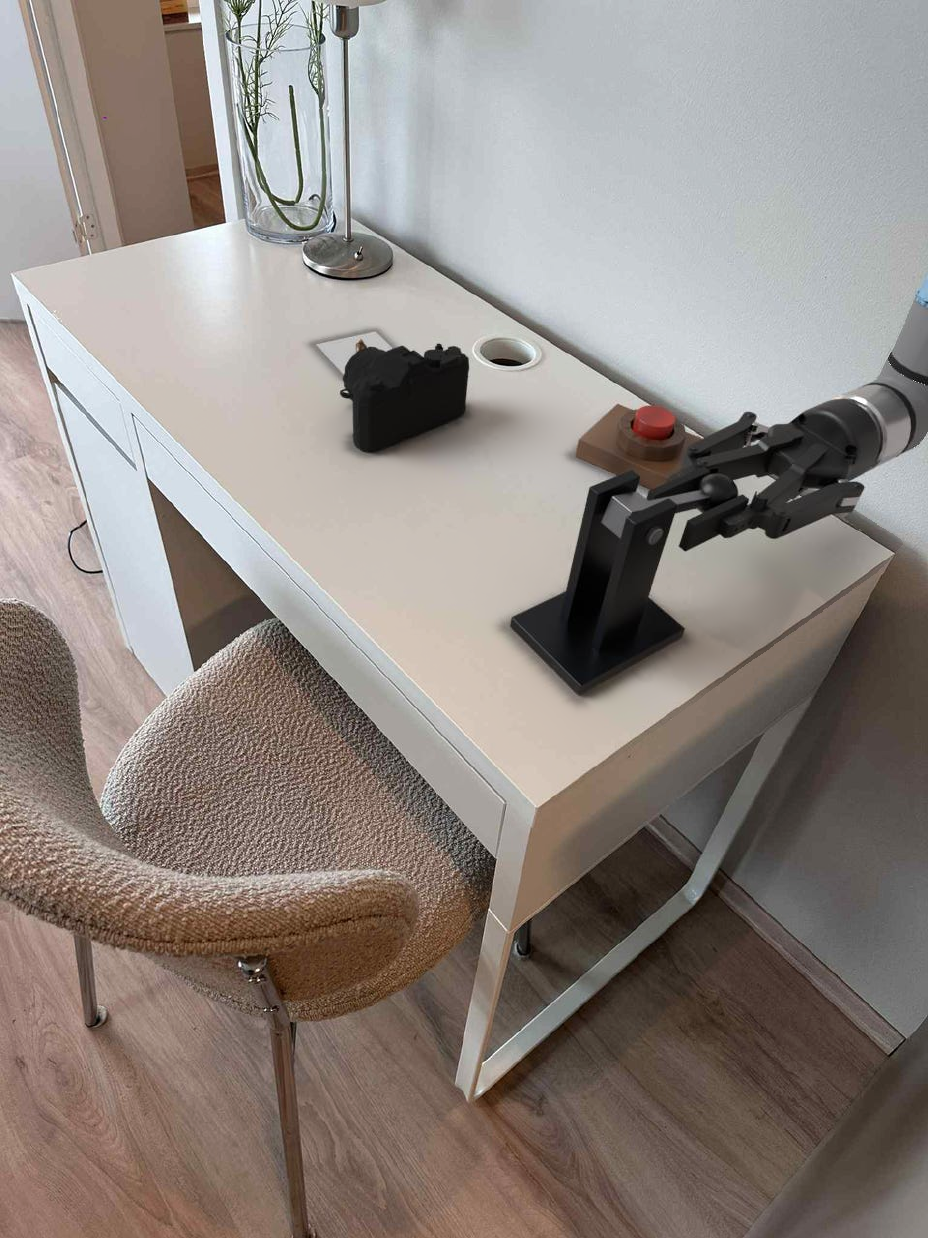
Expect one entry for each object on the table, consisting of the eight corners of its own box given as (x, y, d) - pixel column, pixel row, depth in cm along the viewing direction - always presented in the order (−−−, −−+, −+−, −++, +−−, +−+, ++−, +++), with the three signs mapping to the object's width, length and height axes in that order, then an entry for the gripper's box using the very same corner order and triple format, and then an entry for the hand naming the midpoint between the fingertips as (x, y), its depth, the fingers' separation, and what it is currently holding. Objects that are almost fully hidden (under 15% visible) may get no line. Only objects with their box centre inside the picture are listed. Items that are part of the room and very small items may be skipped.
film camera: (422, 376, 103) (426, 302, 96) (476, 416, 98) (483, 341, 91) (310, 416, 95) (306, 339, 89) (363, 461, 90) (362, 383, 84)
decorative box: (375, 331, 109) (375, 317, 108) (407, 362, 105) (407, 347, 103) (315, 344, 106) (315, 329, 104) (345, 377, 101) (345, 362, 100)
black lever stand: (611, 576, 81) (648, 441, 71) (682, 638, 76) (733, 503, 66) (509, 626, 76) (532, 488, 65) (578, 696, 71) (615, 559, 60)
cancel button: (677, 429, 93) (681, 414, 91) (661, 446, 90) (665, 431, 89) (642, 414, 94) (646, 400, 93) (626, 431, 92) (629, 416, 90)
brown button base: (711, 461, 95) (722, 429, 92) (677, 501, 90) (688, 469, 87) (613, 420, 99) (620, 388, 97) (574, 456, 94) (581, 424, 91)
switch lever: (703, 499, 77) (721, 462, 74) (735, 522, 75) (754, 485, 72) (591, 523, 68) (608, 483, 66) (623, 550, 66) (641, 510, 64)
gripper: (904, 519, 80) (730, 617, 69) (763, 426, 89) (589, 501, 78) (943, 450, 75) (761, 545, 64) (788, 359, 83) (606, 429, 73)
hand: (667, 520), depth 71 cm, fingers closed on switch lever, 4 cm apart
